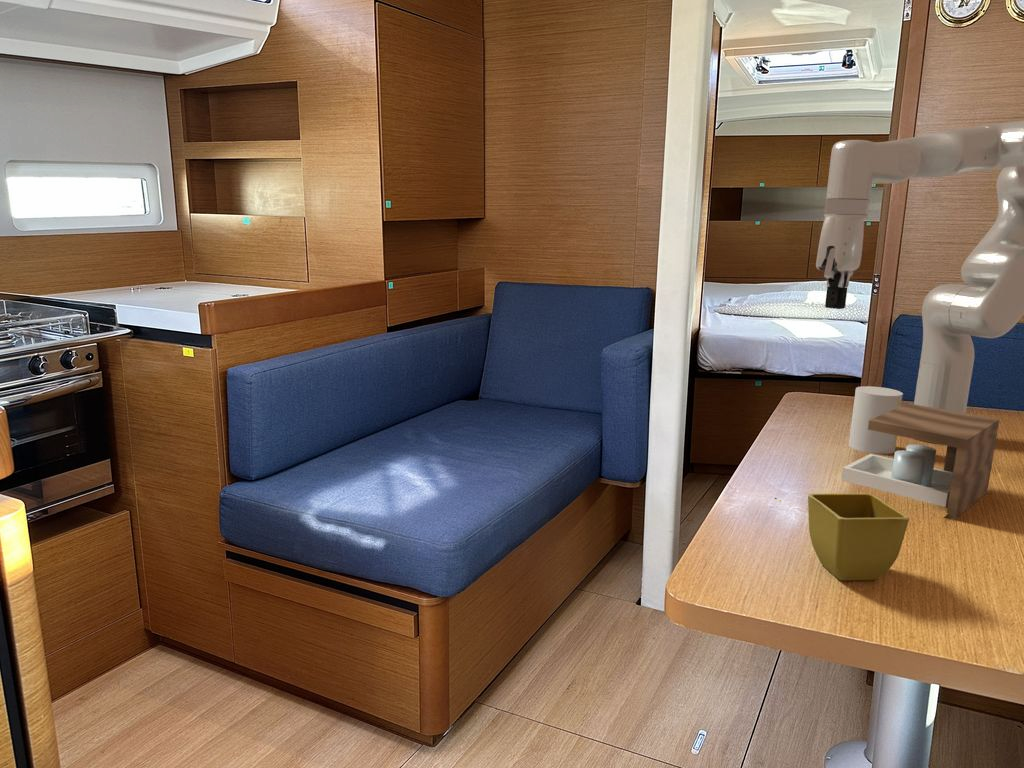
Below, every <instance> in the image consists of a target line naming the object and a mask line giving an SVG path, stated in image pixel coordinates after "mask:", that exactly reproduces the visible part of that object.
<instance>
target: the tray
mask: <svg viewBox="0 0 1024 768" xmlns="http://www.w3.org/2000/svg"><path fill="white" fill-rule="evenodd" d="M893 462H894V458H892V457H891V458H890V457H887V456H882V455H880V454H875V453H868V454H866V455H865V456H863V457H862V458H859V459H857V460H855V461H853V462H851V463H849V464H848V465H845V466H843V467H842V472H841V479H840V480H841V481H843V482H846V483H850V484H853V485H858V486H861V487H865V488H869V489H873V490H877V491H881V492H886V493H889V494H893V495H897V496H900V497H904V498H908V499H912V500H917V501H920V502H922V503H923V502H924V503H927V504H930V505H935V506H940V507H943V508H946V507H948V501H949V495H950V489H951V482H952V476H953V472H949V471H944V469H939V468H935V467H934V469H933V475H932V482H931V486H930V487H926V486H922V485H918V484H914V483H910V482H906V481H902V480H897V479H893V478H891V476H892V469H893Z"/></svg>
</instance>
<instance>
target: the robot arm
mask: <svg viewBox="0 0 1024 768" xmlns="http://www.w3.org/2000/svg"><path fill="white" fill-rule="evenodd" d="M829 161H830V162H829V170H828V177H827V178H828V180H827V189H826V198H825V204H824V205H825V206H824V215H823V217H824V220H823V223H822V228H821V232H820V238H819V242H818V249H817V254H816V255H817V256H816V262H815V267H816V269H817V270H818V271H824V273H823V277H824V278H825V279H826V296H825V301H824V302H825V304H824V306H825V308H827V309H834V310H835V309H836V310H842V309H845V308H846V303H847V297H848V296H847V295H848V294H847V293H848V287H849V284H850V278H852V277H853V275H854V271H856V270H858V269H859V268H860V266H861V261H862V254H863V247H864V245H863V244H864V230H865V219H868V218H869V217H868V216H869V211H870V201H871V194H872V188H873V187H872V186H873V184H874V185H876V184H877V185H878V184H881V185H883V184H899V183H903V182H906V181H907V180H909V179H911V178H912V179H913V178H927V179H929V178H942V177H943V178H944V177H950V176H951V177H952V176H958V175H965V174H970V173H976V172H984V171H989V170H994V169H995V170H997V169H1002V170H1001V171H1000V173H999V174H998V176H997V179H996V189H995V190H996V197H997V203H998V204H997V205H998V212H997V217H996V220H995V222H994V223H993V225H992V226H991V227H990V229H989V230H988V231H987V233H986V234H985V235H984V236H983V237H982V238H981V239H980V241H979V243H977V245H976V246H975V247H974V248H973V249H972V251H971V252H970V253H969V255H968V256H967V257H966V259H965V260H964V262H963V264H962V266H961V268H960V275H961V279H962V281H963V282H964V283H965V284H959V283H947V284H942V285H938V286H935V287H933V288H932V289H931V290H930V291H929V292H928V293H927V294H926V296H925V297H924V299H923V303H922V306H921V318H922V332H923V333H922V346H921V354H920V360H919V368H918V375H917V379H916V380H917V381H916V386H915V395H914V400H913V404H915V405H920V406H926V407H932V408H937V409H943V410H949V411H954V412H960V413H966V412H967V405H968V399H969V394H970V387H971V380H972V377H973V369H974V362H975V355H976V354H975V348H974V343H973V339H972V337H971V336H973V337H978V338H985V339H996V338H999V337H1002V336H1004V335H1006V334H1007V333H1008V332H1009V331H1011V329H1013V328H1014V327H1015V326H1016V325H1017V323H1018V322H1019V320H1020V321H1021V319H1022V318H1023V316H1024V120H1015V121H1007V122H999V123H991V124H985V125H977V126H969V127H962V128H956V129H948V130H942V131H936V132H931V133H927V134H923V135H918V136H914V137H905V138H901V139H894V140H889V141H888V140H886V141H879V142H878V141H877V142H876V141H871V140H866V139H846V140H840V141H837V142H835V143H834V144H833V146H832V147H831V154H830V160H829ZM966 414H967V413H966Z"/></svg>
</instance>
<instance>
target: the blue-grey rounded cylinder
mask: <svg viewBox="0 0 1024 768" xmlns="http://www.w3.org/2000/svg"><path fill="white" fill-rule="evenodd" d="M893 459H894V462H893V469H892V476H891V478H893V479H897V480H902V481H906V482H910V483H914V484H918V485H921V482H922V476H923V469H924V462H925V456H924V455H923V454H920V453H917V452H913V451H906V450H895V452H894V456H893Z"/></svg>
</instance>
